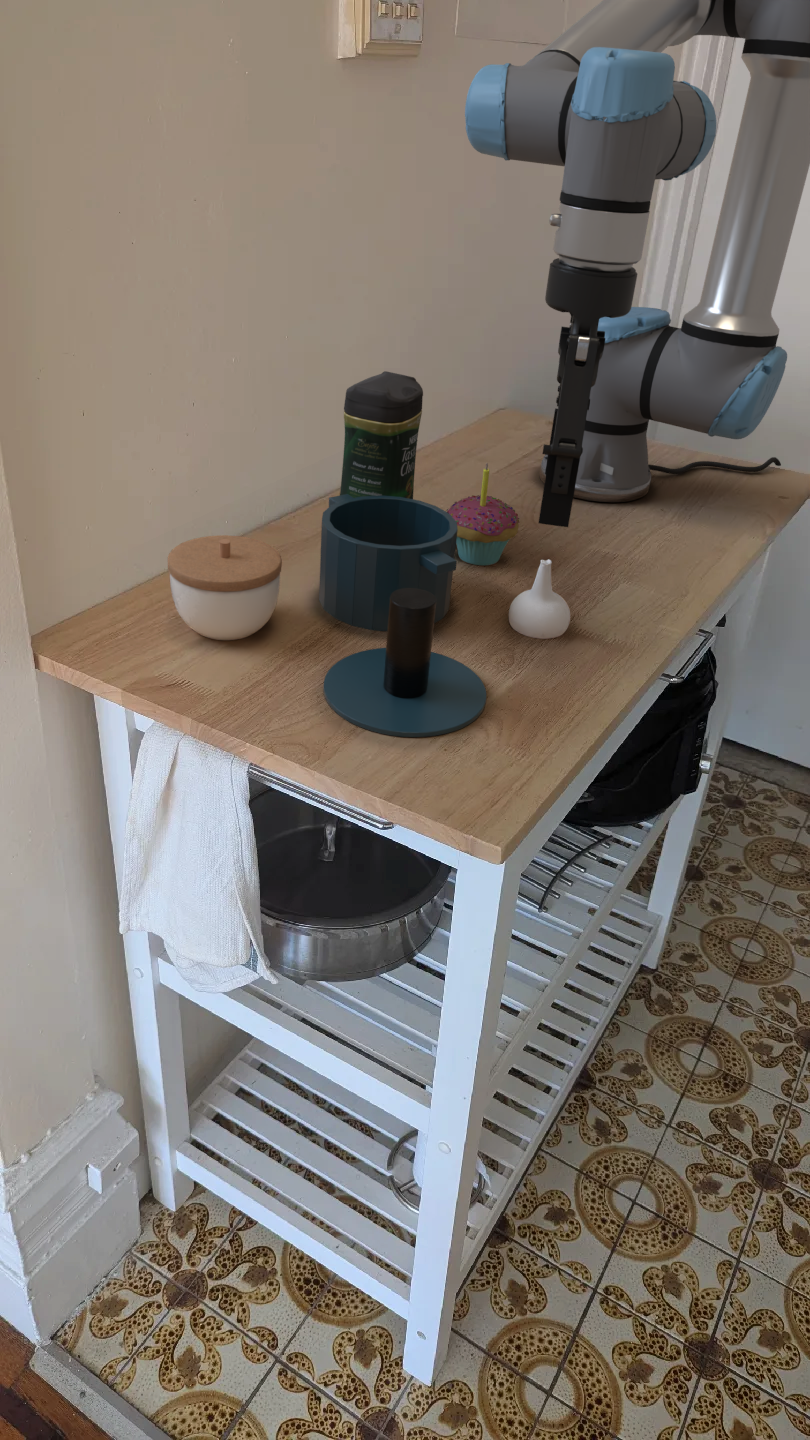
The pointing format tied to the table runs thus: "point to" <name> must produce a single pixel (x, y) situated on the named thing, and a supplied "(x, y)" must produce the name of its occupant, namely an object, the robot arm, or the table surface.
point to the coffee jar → (381, 436)
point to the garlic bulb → (540, 608)
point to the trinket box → (225, 584)
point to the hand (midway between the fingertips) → (555, 498)
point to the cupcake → (483, 526)
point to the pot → (383, 556)
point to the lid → (406, 678)
